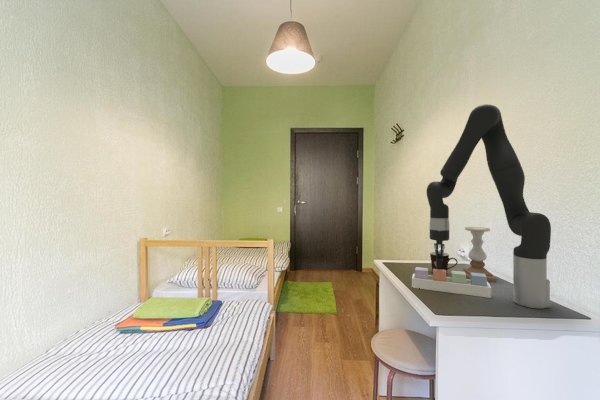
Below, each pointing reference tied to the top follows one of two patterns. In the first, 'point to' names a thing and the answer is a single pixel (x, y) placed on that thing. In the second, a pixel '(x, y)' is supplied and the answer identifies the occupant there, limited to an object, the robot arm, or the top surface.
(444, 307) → the top surface
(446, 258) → the coffee mug
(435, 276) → the terracotta key
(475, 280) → the light blue block
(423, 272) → the lavender block
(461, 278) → the sage green key
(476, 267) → the candle holder
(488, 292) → the frame
